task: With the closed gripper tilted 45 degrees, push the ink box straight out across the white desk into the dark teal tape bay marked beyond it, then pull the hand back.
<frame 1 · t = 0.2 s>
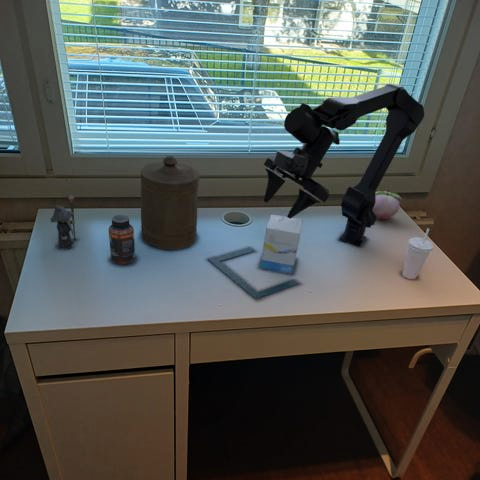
hand: (276, 209, 115), 15 cm above the table, tool tilted 30°, fingers open, 9 cm apart
wooden container: (169, 237, 130), on the table
tape bay: (259, 269, 121), on the table
smoothie: (408, 275, 126), on the table
decorative fruit: (379, 219, 153), on the table
supplement bottle: (123, 260, 118), on the table
ink box: (278, 264, 124), on the table
wizard figurine: (67, 244, 122), on the table
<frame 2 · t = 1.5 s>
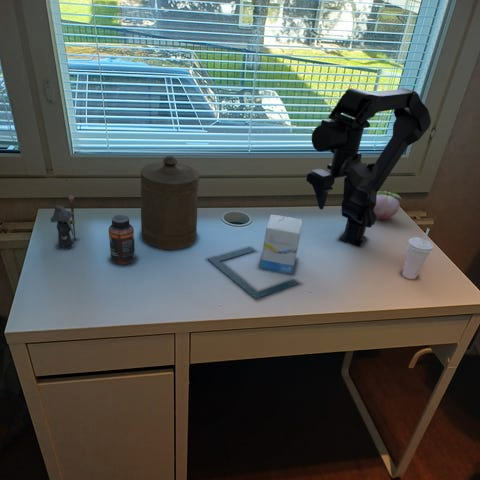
hand: (333, 206, 125), 13 cm above the table, tool pointing down, fingers open, 9 cm apart
nothing on the table moved.
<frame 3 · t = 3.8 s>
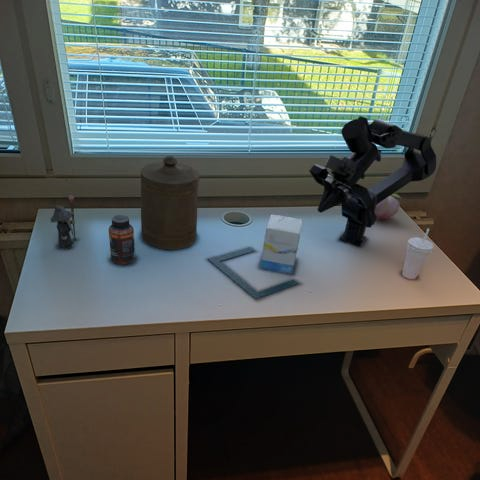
hand: (318, 211, 123), 12 cm above the table, tool tilted 45°, fingers closed
nothing on the table moved.
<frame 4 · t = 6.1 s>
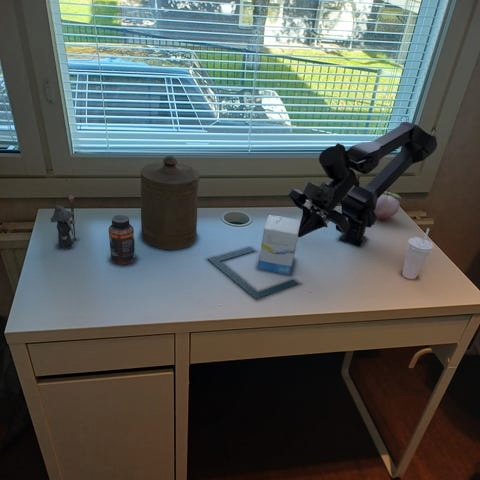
hand: (297, 236, 123), 7 cm above the table, tool tilted 45°, fingers closed
ink box: (276, 264, 124), on the table, touching gripper
everything else where it was.
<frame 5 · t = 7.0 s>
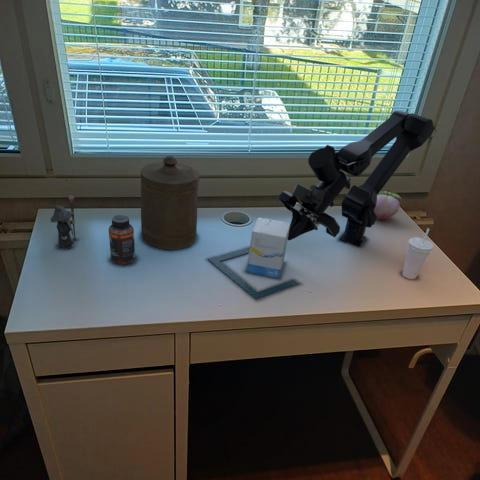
hand: (287, 239, 121), 7 cm above the table, tool tilted 45°, fingers closed
ink box: (265, 267, 122), on the table, touching gripper
everything else where it was.
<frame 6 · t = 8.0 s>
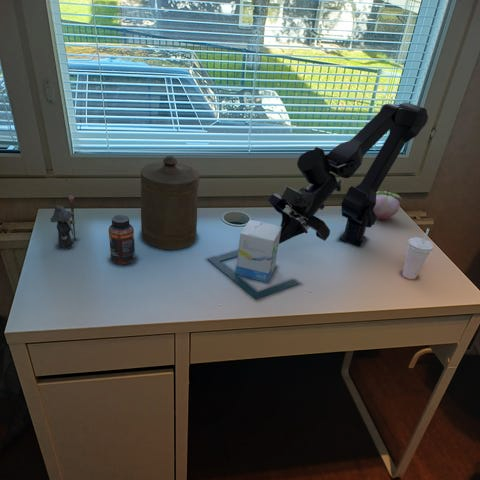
hand: (276, 242, 119), 7 cm above the table, tool tilted 45°, fingers closed
ink box: (255, 271, 120), on the table, touching gripper
everything else where it was.
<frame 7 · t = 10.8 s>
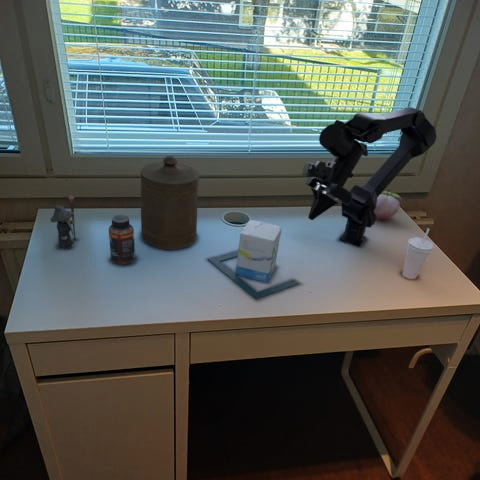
hand: (310, 219, 122), 11 cm above the table, tool tilted 30°, fingers closed
ink box: (255, 271, 120), on the table
everything else where it was.
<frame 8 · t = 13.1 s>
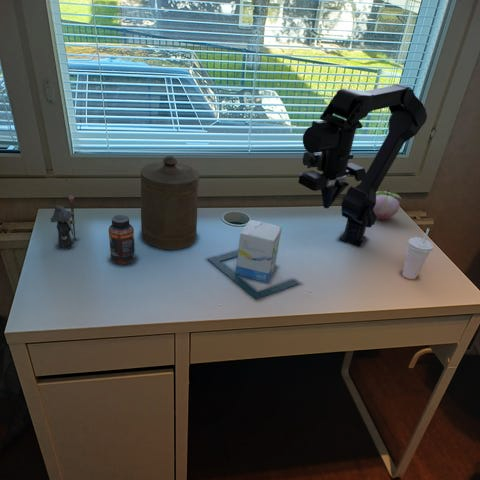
hand: (325, 207, 124), 13 cm above the table, tool pointing down, fingers closed
nothing on the table moved.
at the end: ink box 1.1 cm from the tape bay (horizontally); ink box tilted 0°; ink box moved 7.6 cm from its start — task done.
